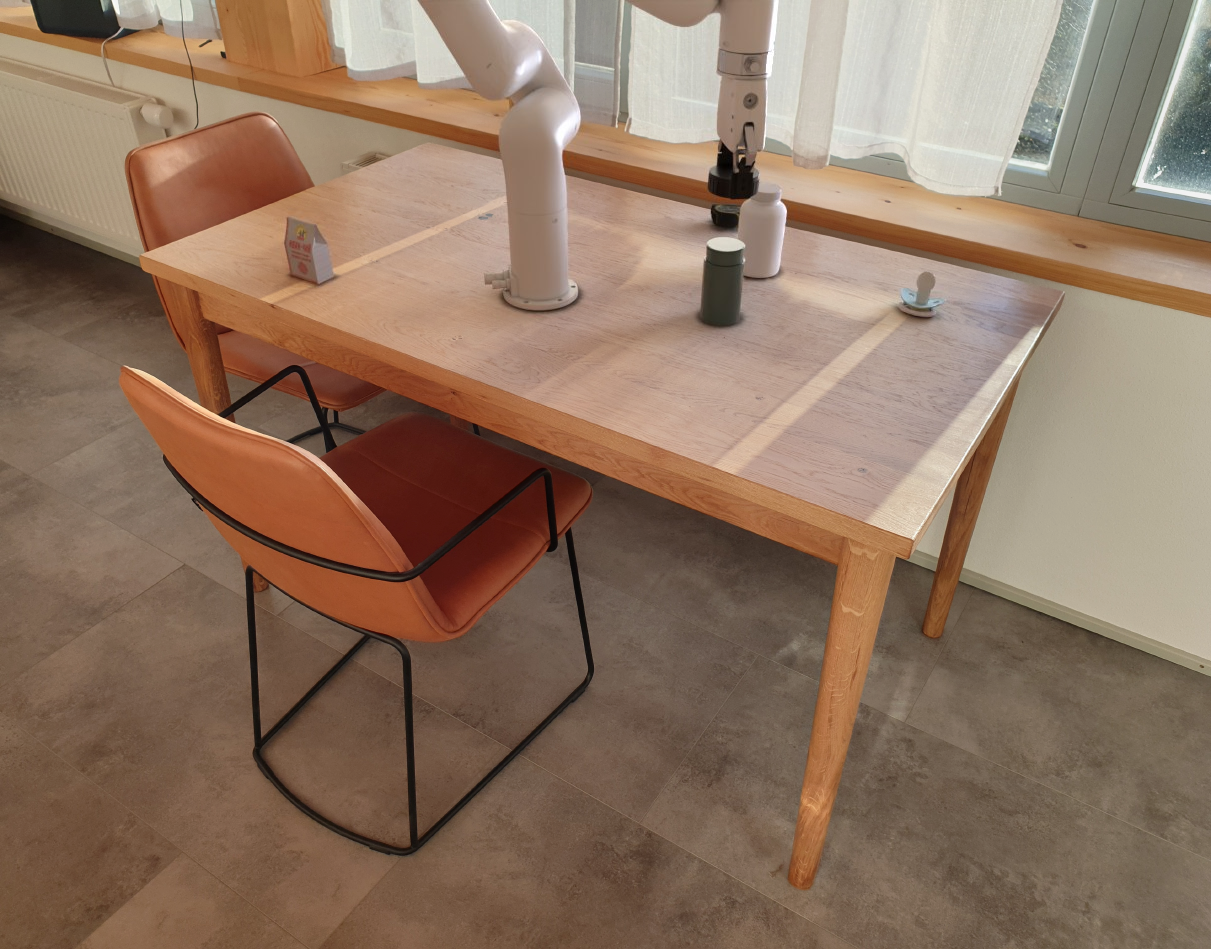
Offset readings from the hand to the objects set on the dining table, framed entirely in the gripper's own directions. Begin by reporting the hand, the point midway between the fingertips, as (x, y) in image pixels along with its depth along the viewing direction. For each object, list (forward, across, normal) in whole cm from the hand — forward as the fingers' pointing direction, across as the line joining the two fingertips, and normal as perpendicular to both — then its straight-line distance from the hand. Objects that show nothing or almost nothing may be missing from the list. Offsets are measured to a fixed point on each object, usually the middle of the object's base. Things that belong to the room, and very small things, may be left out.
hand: (732, 188), depth 139 cm
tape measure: (+21, +39, -11) cm, 45 cm away
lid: (-2, 0, 0) cm, 2 cm away
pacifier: (+21, -2, -33) cm, 39 cm away
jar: (+21, 0, 0) cm, 21 cm away
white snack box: (+22, +25, +67) cm, 75 cm away
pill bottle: (+21, +17, -11) cm, 29 cm away
